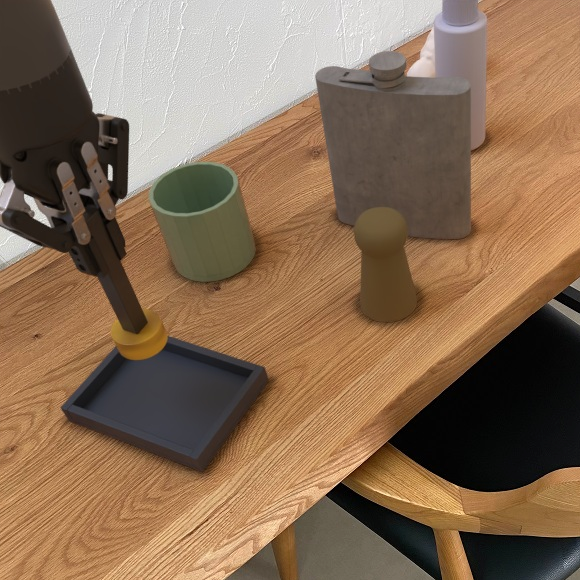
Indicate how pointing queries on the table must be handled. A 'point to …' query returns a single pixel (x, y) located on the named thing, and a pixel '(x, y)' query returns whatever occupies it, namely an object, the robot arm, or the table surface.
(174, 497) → the table surface
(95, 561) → the table surface
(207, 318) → the table surface
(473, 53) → the spray bottle
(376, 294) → the peg doll figure
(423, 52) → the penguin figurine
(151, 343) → the brush
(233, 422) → the tray
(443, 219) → the hip flask
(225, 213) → the beaker
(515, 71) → the table surface
